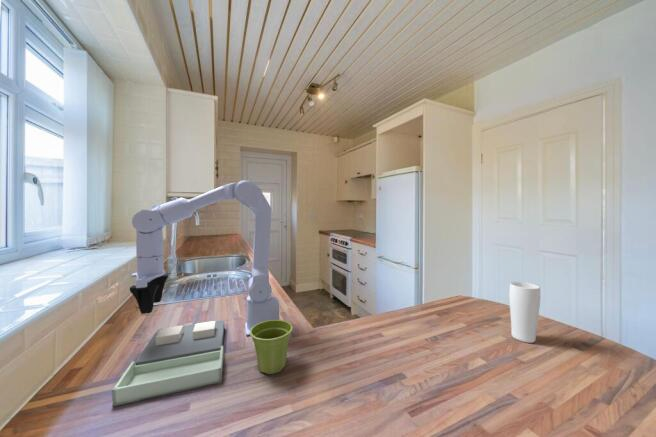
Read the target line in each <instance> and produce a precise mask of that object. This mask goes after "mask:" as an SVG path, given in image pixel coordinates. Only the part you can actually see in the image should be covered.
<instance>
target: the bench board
mask: <svg viewBox="0 0 656 437" xmlns="http://www.w3.org/2000/svg"><path fill="white" fill-rule="evenodd" d="M215 321H216V329H215V334H214V336H212V337H206V338H200V339H193V329H194V327H195V324H196V323H195V324H194V323H193V324H186V325H183V334H182V336H181V339H180V341H179V342H175V343H169V344H162V345H156V339H155V337H156V336H157V334H158V333H159V331H160V330H161V328H159V329H157V330H156V331H155V332H154V334H153V336H152V337H151V338H150V340H149V341H148V343H147V344H146V346H145V348H144V349H143V350H142V352H141V354H140V355H139V357H138V358H137V360H136V361H135V366H136V365H142V364H147V363H153V362H158V361H164V360H170V359H175V358H181V357H186V356H192V355H197V354H203V353H208V352H214V351H219V350H221V346H224V344H223V343H224V335H225V334H224V332H225V320H224V319H222V320H215Z"/></svg>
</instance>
